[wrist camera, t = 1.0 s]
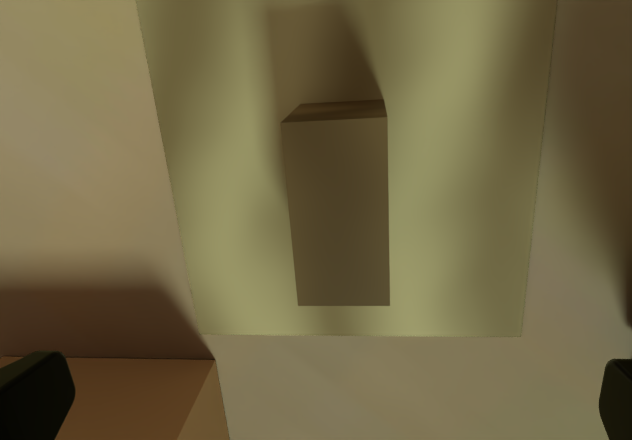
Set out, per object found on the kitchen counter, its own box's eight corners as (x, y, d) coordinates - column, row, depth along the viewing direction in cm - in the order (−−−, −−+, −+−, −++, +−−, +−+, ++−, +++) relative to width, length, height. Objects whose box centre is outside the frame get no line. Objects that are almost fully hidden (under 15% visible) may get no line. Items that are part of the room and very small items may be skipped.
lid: (552, -41, 15) (629, -74, 10) (515, 326, 20) (556, 408, 16) (145, -3, 17) (63, -18, 12) (205, 324, 22) (162, 397, 17)
